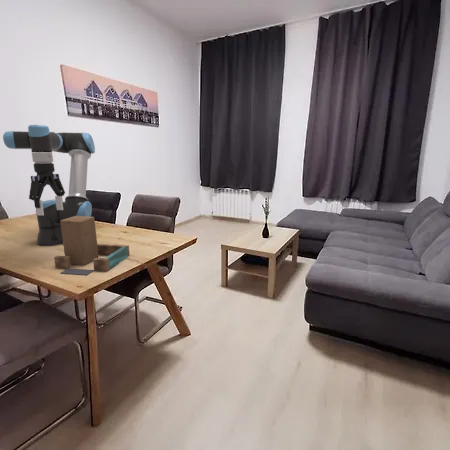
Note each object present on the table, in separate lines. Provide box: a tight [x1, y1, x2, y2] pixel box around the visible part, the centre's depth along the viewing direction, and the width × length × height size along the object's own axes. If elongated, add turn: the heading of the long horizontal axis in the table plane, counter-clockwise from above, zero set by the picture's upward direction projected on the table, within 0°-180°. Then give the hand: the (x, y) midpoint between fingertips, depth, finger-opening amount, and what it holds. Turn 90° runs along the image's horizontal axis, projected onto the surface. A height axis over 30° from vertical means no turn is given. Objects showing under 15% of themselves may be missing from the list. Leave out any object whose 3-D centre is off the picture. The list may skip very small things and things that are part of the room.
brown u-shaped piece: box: [53, 243, 130, 272], centre depth 131 cm, size 24×20×5 cm
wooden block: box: [60, 216, 100, 266], centre depth 130 cm, size 10×10×20 cm
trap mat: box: [59, 267, 94, 276], centre depth 120 cm, size 12×5×1 cm, turn 82°
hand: (50, 212), depth 129 cm, fingers open, 11 cm apart
